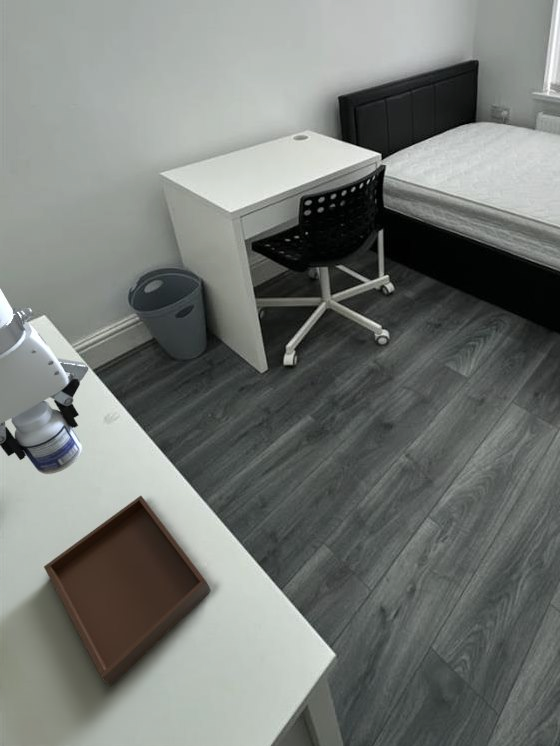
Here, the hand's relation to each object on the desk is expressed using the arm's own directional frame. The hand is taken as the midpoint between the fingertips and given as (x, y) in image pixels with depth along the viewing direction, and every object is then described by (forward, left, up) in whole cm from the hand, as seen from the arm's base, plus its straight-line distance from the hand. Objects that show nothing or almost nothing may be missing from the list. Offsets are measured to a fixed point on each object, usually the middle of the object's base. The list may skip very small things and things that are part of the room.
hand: (45, 436), depth 64 cm
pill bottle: (0, 0, -5) cm, 5 cm away
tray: (+8, -11, -20) cm, 24 cm away
